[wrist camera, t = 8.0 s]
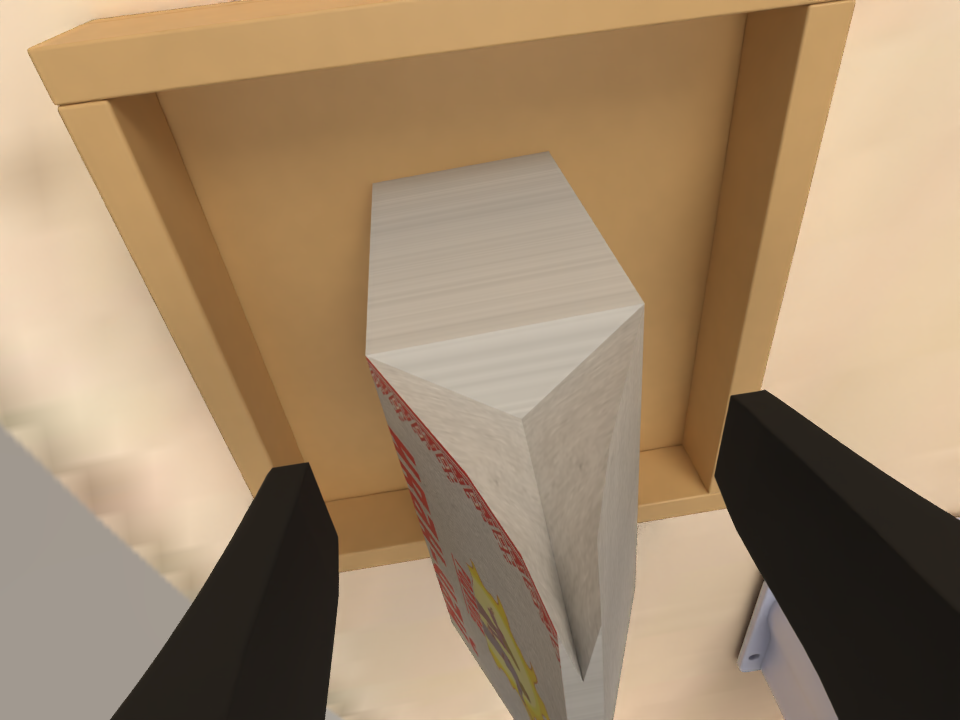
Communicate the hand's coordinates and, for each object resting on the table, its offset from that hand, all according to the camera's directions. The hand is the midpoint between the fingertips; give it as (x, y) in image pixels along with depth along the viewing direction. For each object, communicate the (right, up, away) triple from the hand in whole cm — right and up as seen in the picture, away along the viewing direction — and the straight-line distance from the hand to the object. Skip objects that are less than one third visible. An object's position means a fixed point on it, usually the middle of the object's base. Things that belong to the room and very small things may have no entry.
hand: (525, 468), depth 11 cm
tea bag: (-1, +3, +4) cm, 5 cm away
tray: (-1, +4, +5) cm, 6 cm away
